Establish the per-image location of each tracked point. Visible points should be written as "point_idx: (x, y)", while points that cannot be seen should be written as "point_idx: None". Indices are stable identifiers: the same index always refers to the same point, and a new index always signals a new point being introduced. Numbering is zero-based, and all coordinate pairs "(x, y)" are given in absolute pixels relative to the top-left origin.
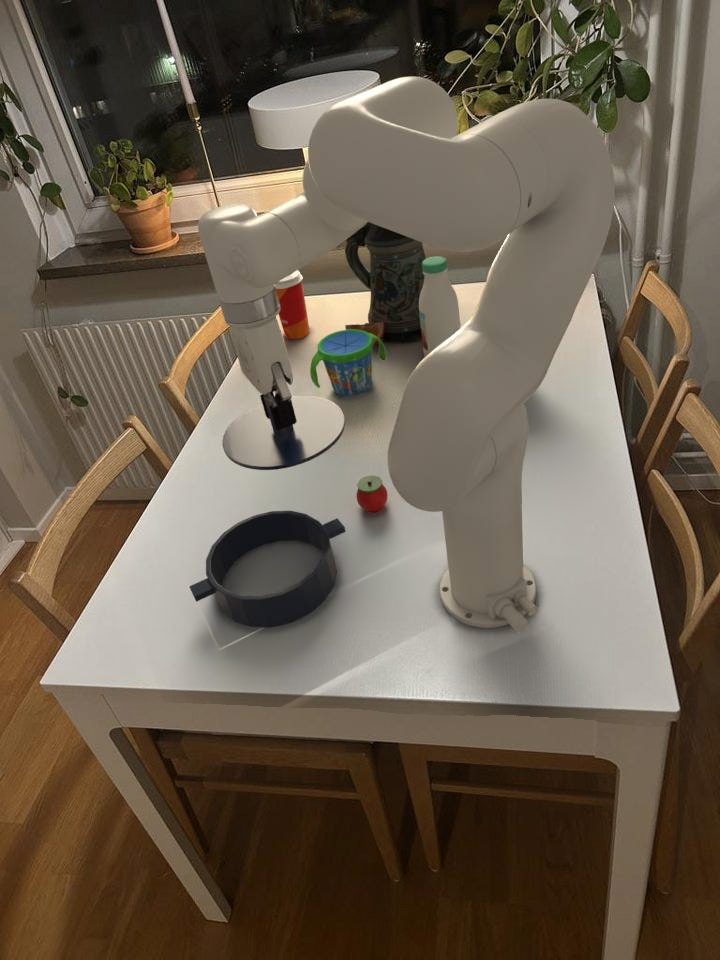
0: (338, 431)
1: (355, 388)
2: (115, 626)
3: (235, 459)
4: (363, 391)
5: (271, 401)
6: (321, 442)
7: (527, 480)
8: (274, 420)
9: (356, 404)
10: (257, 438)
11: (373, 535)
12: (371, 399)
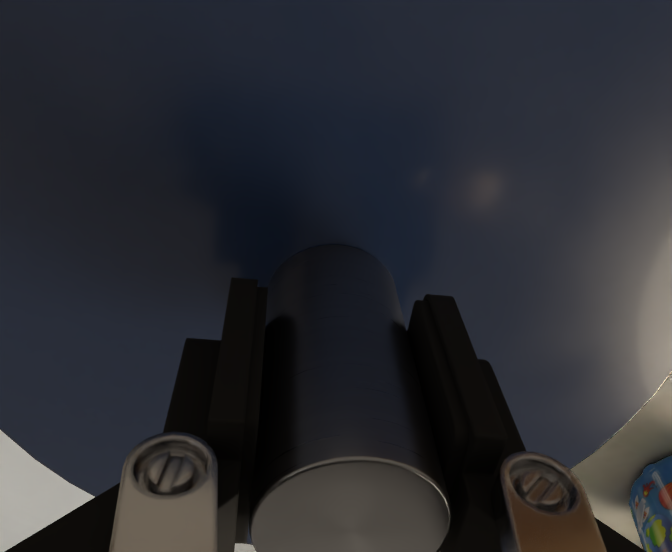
0: (74, 473)
1: (648, 495)
2: None
3: None
4: (631, 493)
5: (153, 501)
6: (25, 383)
7: (26, 537)
8: (224, 327)
9: (612, 454)
10: (367, 129)
11: None
12: (590, 485)
